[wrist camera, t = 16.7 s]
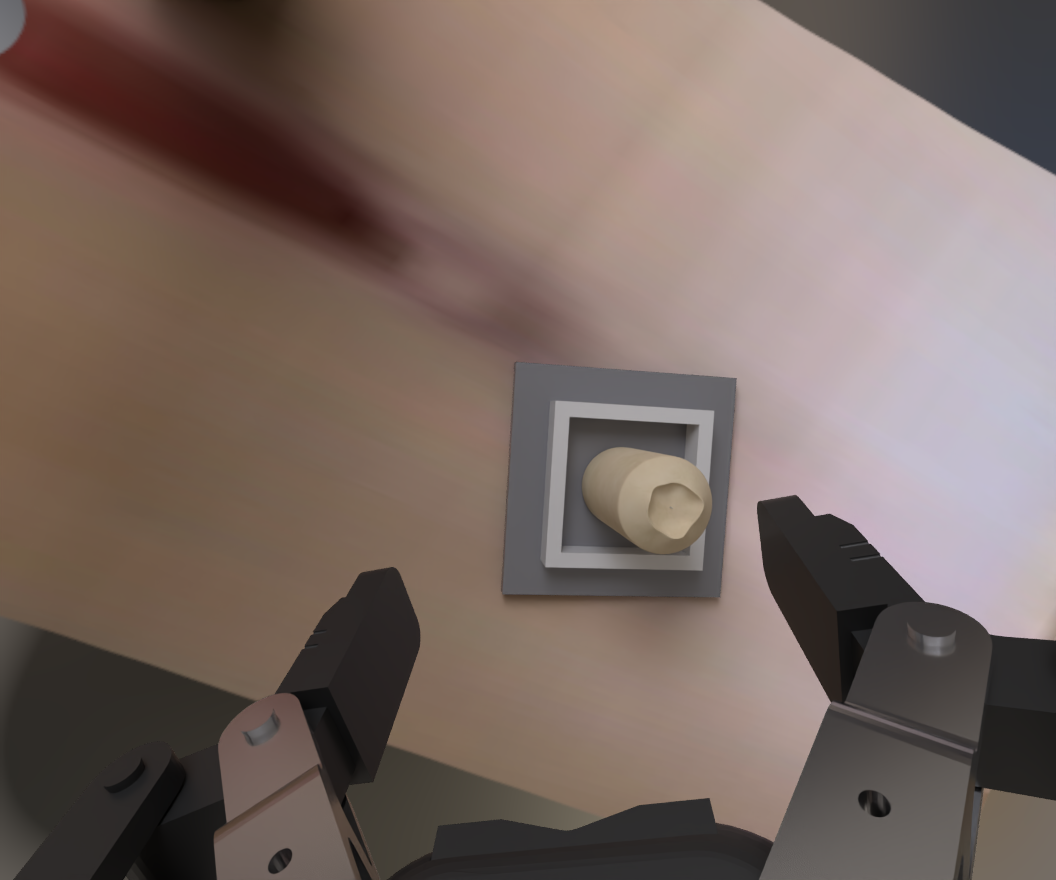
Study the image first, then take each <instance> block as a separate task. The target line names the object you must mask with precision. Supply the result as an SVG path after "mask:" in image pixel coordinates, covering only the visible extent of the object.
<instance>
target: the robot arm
mask: <svg viewBox="0 0 1056 880" xmlns="http://www.w3.org/2000/svg"><path fill="white" fill-rule="evenodd" d="M757 514H758V523H759V532H760V541H761V550H762V559H763V567H764V572H765V576H766V579H767V583H768V586H769V588H770V591H771V593H772V595H773V597H774V599H775V601H776V603H777V604H778V606H779V608H780V610H781V612H782V614H783V615H784V617H785V619H786V621H787V623H788V625H789V626H790V628H791V630H792V632H793V634H794V636H795V637H796V639H797V641H798V643H799V645H800V647H801V648H802V650H803V652H804V654H805V656H806V658H807V659H808V661H809V663H810V665H811V667H812V668H813V670H814V672H815V674H816V676H817V678H818V679H819V681H820V683H821V685H822V687H823V689H824V690H825V692H826V694H827V696H828V698H829V700H830V701H831V704H830V705H829V707H828V709H827V711H826V713H825V716H824V718H823V721H822V723H821V726H820V728H819V731H818V733H817V736H816V738H815V741H814V743H813V746H812V748H811V751H810V753H809V756H808V758H807V761H806V763H805V766H804V768H803V771H802V773H801V776H800V778H799V781H798V783H797V786H796V788H795V791H794V793H793V796H792V798H791V801H790V803H789V806H788V808H787V811H786V813H785V816H784V818H783V821H782V823H781V826H780V828H779V831H778V833H777V836H776V838H775V841H774V843H773V842H772V841H770V840H768V839H766V838H764V837H761V836H759V835H757V834H754V833H752V832H749V831H747V830H743V829H740V828H736V827H733V826H729V825H724V824H719V823H715V819H714V815H713V811H712V807H711V803H710V799H709V798H706V799H696V800H686V801H676V802H667V803H657V804H647V805H639V806H636V807H633V808H631V809H628V810H625V811H623V812H620V813H617V814H615V815H612V816H609V817H607V818H604V819H601V820H599V821H596V822H594V823H591V824H588V825H586V826H583V827H580V828H578V829H574V830H570V831H563V830H557V829H551V828H546V827H540V826H535V825H529V824H524V823H518V822H513V821H507V820H502V819H500V820H491V821H481V822H471V823H461V824H452V825H443V826H438V830H437V834H436V839H435V844H434V848H433V852H431V853H429V854H426V855H424V856H423V857H421V858H419V859H417V860H415V861H413V862H411V863H410V864H409V865H407V866H405V867H404V868H402V869H401V870H399V871H398V872H396V873H395V874H394V875H393V876H391V877H390V878H389V879H387V880H972V873H973V866H974V859H975V851H976V844H977V836H978V828H979V821H980V813H981V806H982V798H983V790H984V788H988V789H994V790H1000V791H1005V792H1011V793H1016V794H1022V795H1028V796H1034V797H1039V798H1045V799H1050V800H1056V641H1053V640H1040V639H1028V638H1015V637H1004V636H995V635H990V634H989V633H988V632H987V630H986V629H985V628H984V627H983V626H982V625H981V624H980V623H979V622H978V621H976V620H975V619H974V618H972V617H970V616H969V615H967V614H965V613H963V612H961V611H959V610H956V609H953V608H950V607H948V606H944V605H940V604H935V603H929V602H925V601H924V600H923V599H922V598H921V597H920V596H919V595H918V594H917V593H916V592H915V591H914V590H913V589H912V587H911V586H910V585H909V584H908V583H907V582H906V581H905V580H904V579H903V578H902V577H901V576H900V575H899V574H898V572H897V571H896V570H895V569H894V568H893V567H892V566H891V565H890V564H889V563H888V562H887V561H886V560H885V559H884V558H883V557H881V556H880V553H879V552H878V551H877V550H876V549H875V548H874V547H873V546H872V545H871V544H868V540H867V539H866V538H865V537H864V536H863V535H862V534H861V533H860V532H859V531H858V530H857V529H856V528H855V527H854V525H852V524H850V523H848V522H846V521H844V520H842V519H840V518H838V517H835V516H833V515H831V514H826V515H820V516H814V515H813V514H812V512H811V511H810V510H809V509H808V508H807V506H806V505H805V504H804V503H803V502H802V501H801V499H800V498H799V497H798V496H796V495H792V496H787V497H781V498H775V499H770V500H764V501H759V502H758V504H757ZM313 632H314V634H313V635H311V636H310V638H309V639H308V641H307V643H306V644H305V649H302V651H301V652H300V654H299V656H298V657H297V659H296V660H295V662H294V664H293V665H292V667H291V669H290V670H289V672H288V673H287V675H286V677H285V678H284V680H283V681H282V683H281V685H280V686H279V688H278V690H277V691H276V693H275V694H274V695H271V696H268V697H265V698H263V699H261V700H259V701H257V702H255V703H253V704H252V705H250V706H249V707H247V708H246V709H244V710H243V711H242V712H241V713H239V714H238V715H237V716H236V717H235V718H234V719H233V720H232V721H231V722H230V723H229V725H228V726H227V727H226V729H225V730H224V732H223V734H222V735H221V738H220V740H219V744H216V745H214V746H211V747H209V748H206V749H204V750H201V751H199V752H196V753H193V754H191V755H189V756H186V757H184V758H181V759H178V758H177V756H176V754H175V753H174V751H173V750H172V748H171V747H170V745H169V744H167V743H165V742H160V741H159V742H158V741H157V742H151V743H147V744H144V745H142V746H139V747H137V748H135V749H132V750H131V751H129V752H127V753H126V754H124V755H122V756H121V757H119V758H118V759H116V760H115V761H114V762H112V763H111V764H109V765H108V766H107V767H106V768H105V769H104V770H103V771H101V772H100V773H99V775H97V776H96V777H95V778H94V780H93V781H92V782H91V783H90V784H89V785H88V787H87V788H86V789H85V790H84V792H83V793H82V794H81V795H80V797H79V798H78V799H77V800H76V802H75V803H74V804H73V805H72V807H71V808H70V809H69V811H68V812H67V813H66V814H65V815H64V817H63V818H62V819H61V820H60V822H59V823H58V824H57V825H56V827H55V828H54V829H53V831H52V832H51V833H50V834H49V836H48V837H47V838H46V839H45V841H44V842H43V843H42V844H41V846H40V847H39V848H38V849H37V851H36V852H35V853H34V854H33V856H32V857H31V858H30V859H29V861H28V862H27V863H26V864H25V866H24V867H23V868H22V869H21V871H20V872H19V873H18V874H17V876H16V877H15V878H14V879H13V880H123V879H124V878H125V876H126V877H127V878H128V879H129V880H380V878H379V875H378V872H377V869H376V867H375V864H374V862H373V859H372V856H371V854H370V851H369V849H368V846H367V843H366V841H365V838H364V836H363V833H362V831H361V828H360V825H359V822H358V820H357V817H356V815H355V812H354V809H353V807H352V805H351V803H350V801H349V799H348V797H347V795H346V791H347V789H348V786H349V785H352V784H361V783H369V782H373V781H374V778H375V775H376V773H377V770H378V767H379V764H380V761H381V758H382V755H383V752H384V749H385V746H386V744H387V741H388V738H389V735H390V732H391V729H392V726H393V723H394V720H395V718H396V715H397V712H398V709H399V706H400V703H401V700H402V697H403V694H404V691H405V689H406V686H407V683H408V680H409V677H410V674H411V671H412V668H413V665H414V663H415V660H416V657H417V654H418V651H419V647H420V628H419V623H418V620H417V617H416V614H415V612H414V609H413V607H412V604H411V601H410V599H409V596H408V594H407V591H406V588H405V586H404V583H403V580H402V578H401V575H400V573H399V572H398V570H397V569H396V568H394V567H390V568H384V569H378V570H373V571H367V572H362V573H361V574H359V576H358V577H357V579H356V581H355V582H354V584H353V586H352V588H351V589H350V591H349V593H348V594H347V596H346V597H344V598H341V599H340V600H339V601H338V602H337V603H336V604H334V605H333V606H332V607H331V608H330V609H329V610H328V611H327V612H326V613H325V614H324V615H323V617H322V618H321V620H320V622H319V623H318V625H317V626H316V628H315V630H314V631H313Z"/></svg>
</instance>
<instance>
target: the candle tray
mask: <svg viewBox="0 0 1056 880" xmlns="http://www.w3.org/2000/svg"><path fill="white" fill-rule="evenodd" d="M736 379H737V378H726V377H713V376H699V375H686V374H672V373H659V372H645V371H632V370H618V369H605V368H591V367H578V366H564V365H551V364H537V363H524V362H515V363H514V380H513V397H512V414H511V431H510V448H509V465H508V482H507V499H506V516H505V533H504V550H503V567H502V584H501V591H502V594H522V595H592V596H662V597H720V591H721V578H722V565H723V551H724V538H725V525H726V512H727V498H728V485H729V472H730V459H731V445H732V432H733V419H734V405H735V392H736ZM615 447H627V448H634V449H639V450H644V451H650V452H655V453H660V454H665V455H671V456H675V457H679V458H682V459H685V460H687V461H689V462H690V463H692V464H693V465H695V466H696V467H697V468H698V469H699V470H700V471H701V472H702V474H703V475H704V476H705V478H706V480H707V482H708V484H709V487H710V490H711V495H712V512H711V516H710V520H709V522H708V525H707V527H706V529H705V530H704V532H703V533H702V535H701V536H700V537H699V538H698V539H697V540H696V541H695V542H694V543H693V544H692V545H690V546H689V547H687V548H685V549H683V550H681V551H679V552H676V553H671V554H655V553H651V552H648V551H645V550H643V549H641V548H639V547H638V546H636V545H635V544H634V543H632V542H631V541H629V540H628V539H626V538H625V537H624V536H622V535H621V534H619V533H618V532H616V531H615V530H614V529H612V528H611V527H609V526H608V525H606V524H605V523H604V522H602V521H601V520H599V519H598V518H597V517H596V516H595V515H593V514H592V512H591V511H590V510H589V509H588V507H587V505H586V503H585V501H584V498H583V494H582V479H583V475H584V472H585V470H586V468H587V466H588V464H589V463H590V462H591V460H592V459H593V458H594V457H596V456H597V455H598V454H600V453H601V452H603V451H605V450H607V449H611V448H615Z"/></svg>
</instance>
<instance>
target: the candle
mask: <svg viewBox="0 0 1056 880" xmlns="http://www.w3.org/2000/svg"><path fill="white" fill-rule="evenodd" d="M582 494H583V498H584V501H585V503H586V505H587V507H588V509H589V510H590V511H591V512H592V514H593V515H595V516H596V517H597V518H598V519H599V520H601V521H602V522H604V523H605V524H606V525H608V526H609V527H611V528H612V529H614V530H615V531H616V532H618V533H619V534H621V535H622V536H624V537H625V538H626V539H628V540H629V541H631V542H632V543H634V544H635V545H636V546H638V547H639V548H641V549H643V550H645V551H648V552H651V553H655V554H671V553H676V552H679V551H681V550H683V549H685V548H687V547H689V546H690V545H692V544H693V543H694V542H695V541H696V540H697V539H698V538H699V537H700V536H701V535H702V533H703V532H704V530H705V529H706V527H707V525H708V522H709V520H710V516H711V512H712V495H711V490H710V487H709V484H708V482H707V480H706V478H705V476H704V475H703V474H702V472H701V471H700V470H699V469H698V468H697V467H696V466H695V465H693V464H692V463H690V462H689V461H687V460H685V459H682V458H679V457H675V456H671V455H665V454H660V453H655V452H650V451H644V450H639V449H634V448H627V447H615V448H611V449H607V450H605V451H603V452H601V453H600V454H598V455H597V456H596V457H594V458H593V459H592V460H591V462H590V463H589V464H588V466H587V468H586V470H585V472H584V475H583V479H582Z"/></svg>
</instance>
